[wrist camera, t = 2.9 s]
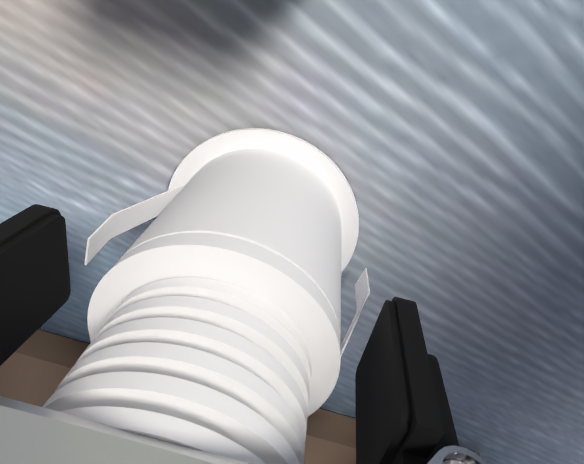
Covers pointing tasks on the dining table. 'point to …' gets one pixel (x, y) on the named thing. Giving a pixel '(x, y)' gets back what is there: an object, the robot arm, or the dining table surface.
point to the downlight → (223, 302)
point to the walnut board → (65, 352)
